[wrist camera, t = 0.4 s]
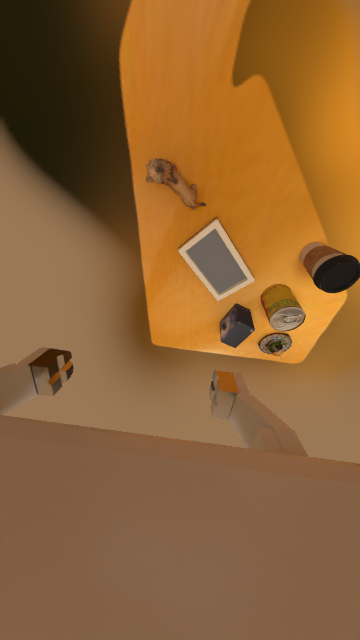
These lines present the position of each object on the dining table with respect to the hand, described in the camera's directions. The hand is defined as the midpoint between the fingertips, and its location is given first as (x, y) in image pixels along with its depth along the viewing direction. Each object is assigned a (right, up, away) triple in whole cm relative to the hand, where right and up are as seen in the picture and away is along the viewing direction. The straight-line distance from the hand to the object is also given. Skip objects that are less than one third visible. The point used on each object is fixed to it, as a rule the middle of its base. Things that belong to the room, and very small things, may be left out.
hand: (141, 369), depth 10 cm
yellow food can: (+34, +11, +50) cm, 61 cm away
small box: (+22, +4, +57) cm, 62 cm away
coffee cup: (+38, +21, +40) cm, 60 cm away
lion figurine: (+2, +36, +34) cm, 49 cm away
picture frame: (+13, +20, +45) cm, 51 cm away
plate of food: (+40, -6, +63) cm, 75 cm away
